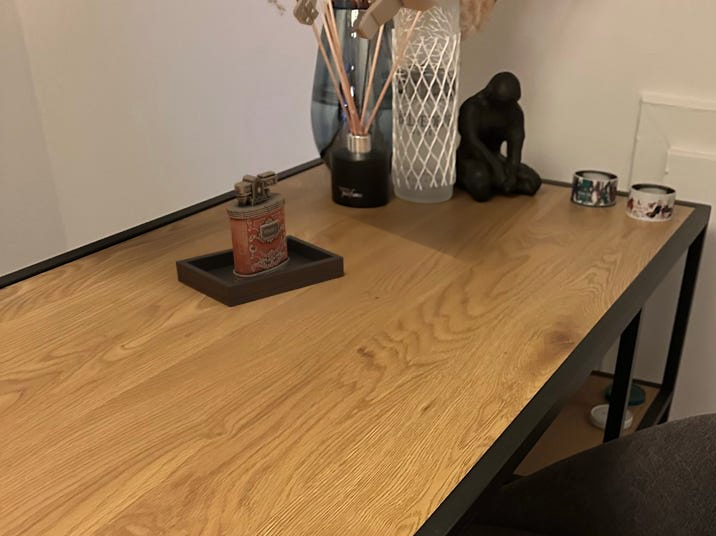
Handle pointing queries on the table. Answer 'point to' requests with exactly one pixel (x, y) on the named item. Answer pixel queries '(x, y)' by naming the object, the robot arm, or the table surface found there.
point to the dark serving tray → (218, 276)
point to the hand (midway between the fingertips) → (330, 27)
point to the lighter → (258, 227)
